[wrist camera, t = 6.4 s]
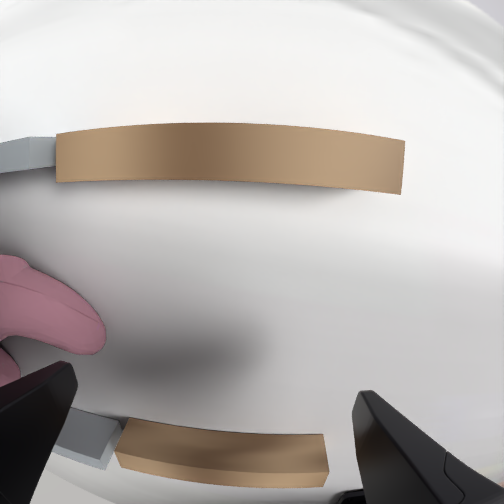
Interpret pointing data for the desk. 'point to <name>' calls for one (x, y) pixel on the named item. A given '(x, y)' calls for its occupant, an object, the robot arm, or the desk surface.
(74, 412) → the grey u-shaped frame
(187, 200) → the desk surface
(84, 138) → the pair of wooden bars
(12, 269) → the video game controller
